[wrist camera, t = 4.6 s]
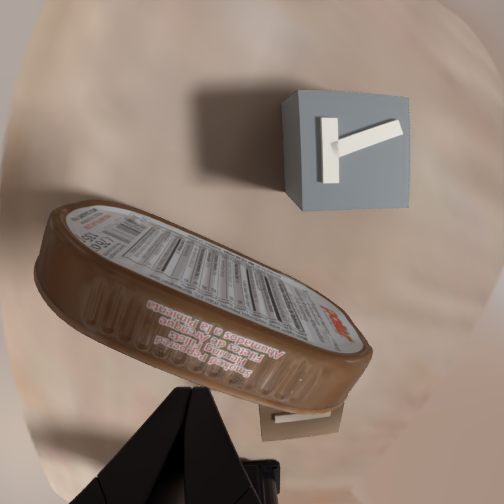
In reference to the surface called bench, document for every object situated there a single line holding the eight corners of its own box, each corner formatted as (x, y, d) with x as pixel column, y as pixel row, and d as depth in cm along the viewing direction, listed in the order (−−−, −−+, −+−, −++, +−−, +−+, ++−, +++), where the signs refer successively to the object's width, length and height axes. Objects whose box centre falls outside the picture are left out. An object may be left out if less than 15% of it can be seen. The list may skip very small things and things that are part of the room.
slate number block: (367, 189, 16) (410, 208, 12) (284, 192, 16) (303, 212, 12) (366, 106, 15) (410, 97, 10) (280, 103, 14) (299, 89, 10)
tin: (83, 229, 16) (-9, 298, 8) (100, 177, 15) (-1, 215, 7) (319, 332, 19) (362, 438, 11) (347, 289, 18) (411, 386, 10)
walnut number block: (322, 383, 20) (339, 434, 16) (257, 390, 20) (262, 444, 16) (327, 331, 19) (349, 381, 14) (254, 338, 19) (259, 392, 14)
